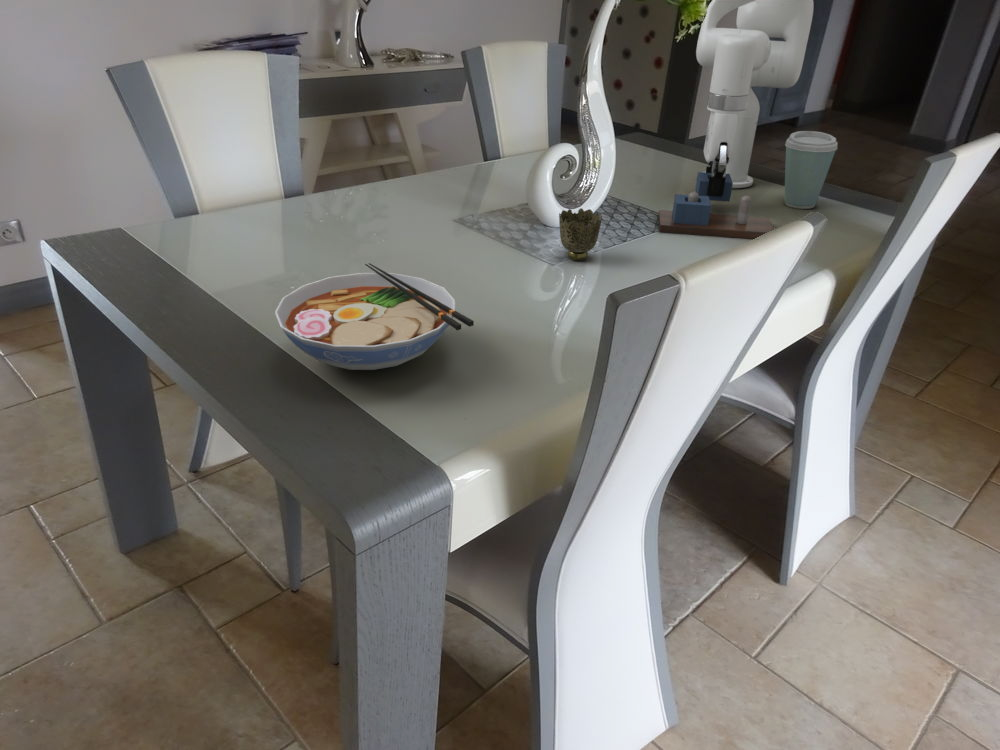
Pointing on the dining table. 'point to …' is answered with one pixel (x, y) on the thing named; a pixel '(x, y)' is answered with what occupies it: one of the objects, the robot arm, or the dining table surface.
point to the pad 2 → (703, 186)
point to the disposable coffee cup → (807, 167)
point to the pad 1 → (691, 210)
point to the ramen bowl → (367, 318)
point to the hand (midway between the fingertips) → (713, 189)
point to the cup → (579, 232)
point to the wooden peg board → (719, 223)
